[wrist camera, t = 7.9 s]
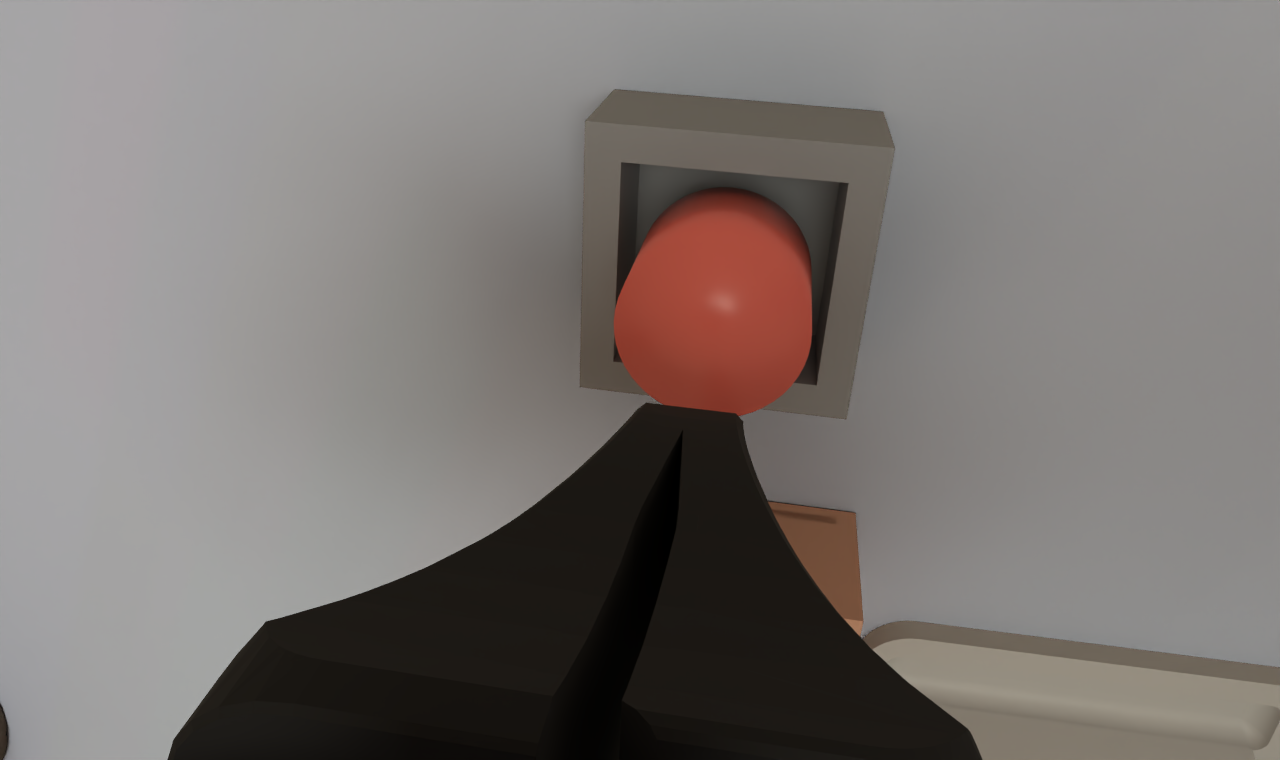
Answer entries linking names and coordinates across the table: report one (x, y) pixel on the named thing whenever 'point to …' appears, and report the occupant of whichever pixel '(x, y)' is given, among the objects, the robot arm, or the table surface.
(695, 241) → the button
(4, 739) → the pillar candle
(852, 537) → the pen cup
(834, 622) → the robot arm
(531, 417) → the table surface
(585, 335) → the button base
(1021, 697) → the phone holder
